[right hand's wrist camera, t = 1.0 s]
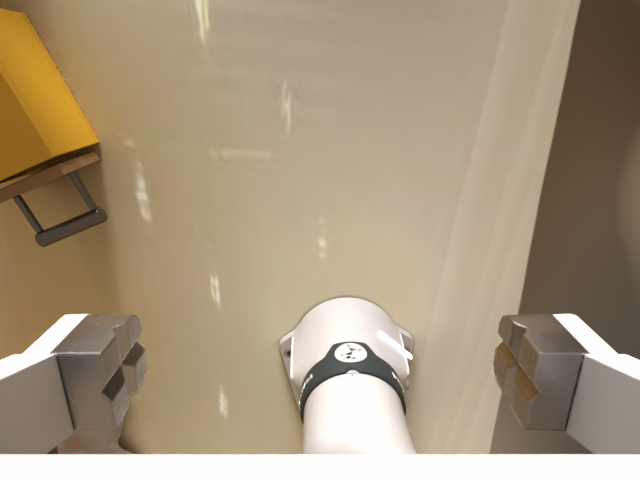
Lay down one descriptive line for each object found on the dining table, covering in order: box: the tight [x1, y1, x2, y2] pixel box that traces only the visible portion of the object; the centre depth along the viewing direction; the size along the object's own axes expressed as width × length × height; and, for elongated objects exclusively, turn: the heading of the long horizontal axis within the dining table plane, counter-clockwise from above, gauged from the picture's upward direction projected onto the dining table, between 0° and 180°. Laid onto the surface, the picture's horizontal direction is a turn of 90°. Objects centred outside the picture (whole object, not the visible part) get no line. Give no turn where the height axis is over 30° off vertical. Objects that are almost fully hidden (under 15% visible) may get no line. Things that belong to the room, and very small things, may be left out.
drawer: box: [0, 151, 107, 247], centre depth 48 cm, size 20×9×8 cm, turn 22°
